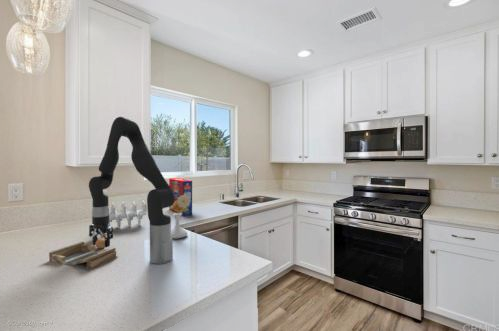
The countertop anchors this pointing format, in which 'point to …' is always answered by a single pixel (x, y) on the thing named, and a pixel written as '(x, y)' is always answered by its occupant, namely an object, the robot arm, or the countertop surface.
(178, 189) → the cereal box
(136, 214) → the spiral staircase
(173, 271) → the countertop surface
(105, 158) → the robot arm
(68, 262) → the mat
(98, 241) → the ball
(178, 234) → the flower in vase
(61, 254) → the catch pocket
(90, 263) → the ramp
